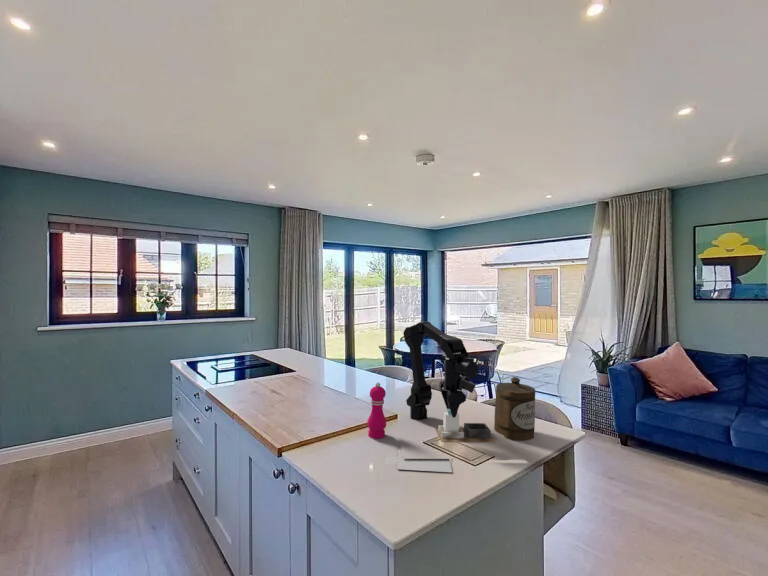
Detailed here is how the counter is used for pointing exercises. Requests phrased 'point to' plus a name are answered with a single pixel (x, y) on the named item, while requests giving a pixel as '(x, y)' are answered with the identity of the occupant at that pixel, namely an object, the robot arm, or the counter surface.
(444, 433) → the brown board with frames
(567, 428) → the counter surface
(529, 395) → the wooden container
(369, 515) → the counter surface
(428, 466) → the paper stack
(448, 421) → the plug
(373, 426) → the pepper mill
